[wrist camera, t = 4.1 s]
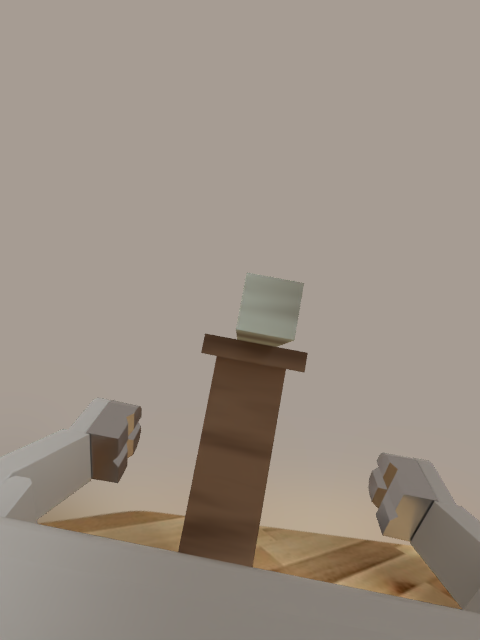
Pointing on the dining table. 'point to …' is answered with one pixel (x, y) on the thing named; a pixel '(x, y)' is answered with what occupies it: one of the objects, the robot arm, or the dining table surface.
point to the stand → (235, 448)
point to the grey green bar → (269, 310)
